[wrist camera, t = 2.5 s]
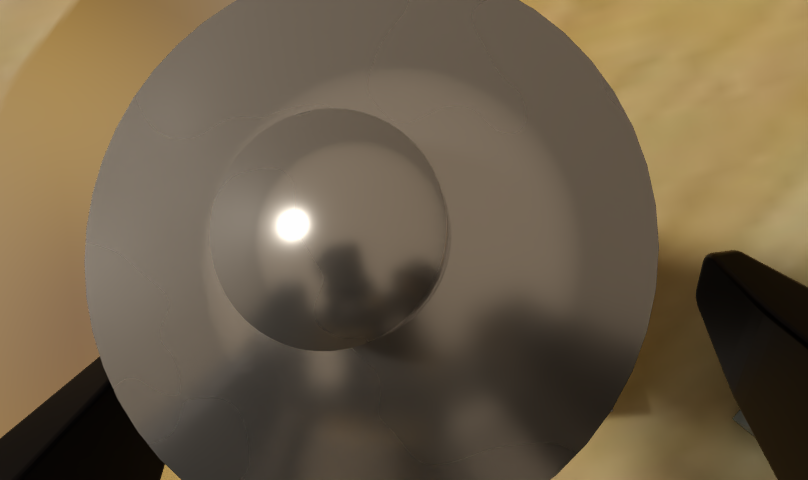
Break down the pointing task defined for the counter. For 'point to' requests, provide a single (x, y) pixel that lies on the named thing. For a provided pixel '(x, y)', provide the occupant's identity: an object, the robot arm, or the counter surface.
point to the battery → (371, 245)
